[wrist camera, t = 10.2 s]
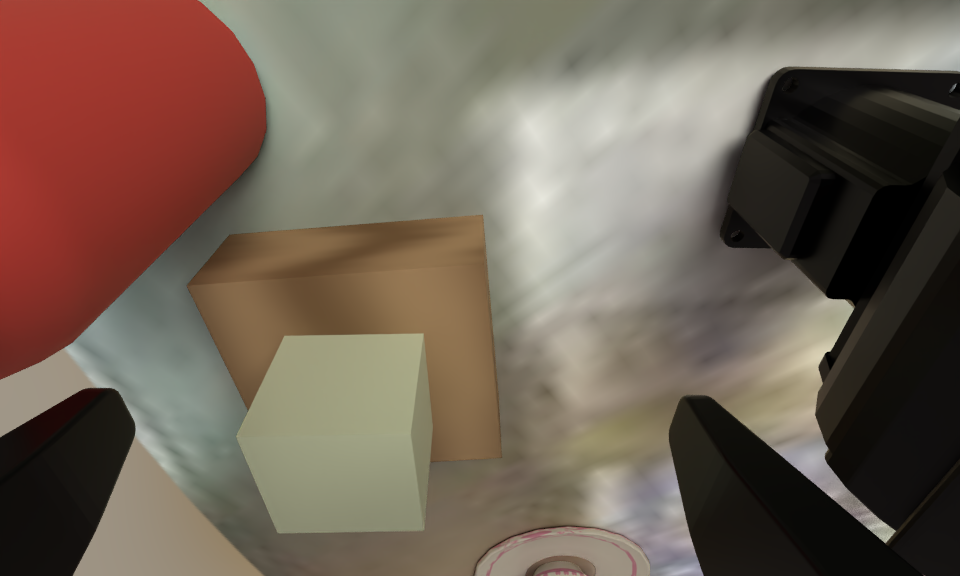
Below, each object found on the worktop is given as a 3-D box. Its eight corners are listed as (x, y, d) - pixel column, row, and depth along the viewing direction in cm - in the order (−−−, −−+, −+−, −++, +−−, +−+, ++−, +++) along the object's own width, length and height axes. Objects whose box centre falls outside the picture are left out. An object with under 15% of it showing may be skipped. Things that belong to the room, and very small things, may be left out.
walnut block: (482, 210, 20) (484, 263, 17) (498, 390, 25) (501, 457, 22) (233, 230, 20) (186, 285, 17) (303, 403, 26) (277, 471, 23)
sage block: (423, 333, 18) (410, 433, 14) (433, 426, 21) (424, 530, 17) (284, 335, 18) (235, 436, 14) (312, 428, 21) (277, 533, 17)
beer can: (314, 117, 17) (101, 348, 7) (188, 214, 19) (-112, 497, 9) (149, -81, 14) (-593, -136, 4) (19, 59, 16) (-691, 240, 6)
